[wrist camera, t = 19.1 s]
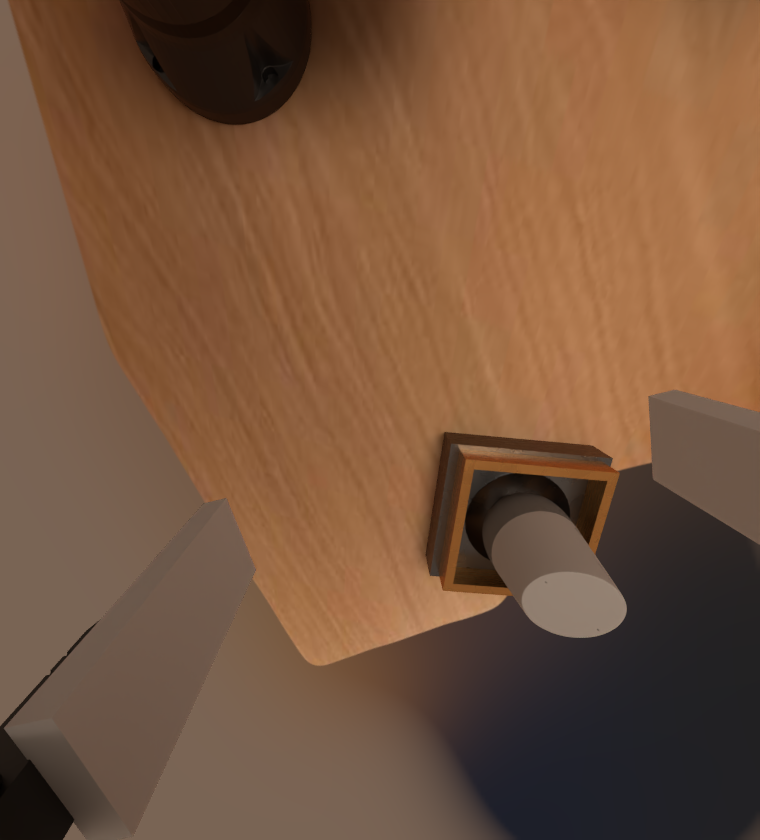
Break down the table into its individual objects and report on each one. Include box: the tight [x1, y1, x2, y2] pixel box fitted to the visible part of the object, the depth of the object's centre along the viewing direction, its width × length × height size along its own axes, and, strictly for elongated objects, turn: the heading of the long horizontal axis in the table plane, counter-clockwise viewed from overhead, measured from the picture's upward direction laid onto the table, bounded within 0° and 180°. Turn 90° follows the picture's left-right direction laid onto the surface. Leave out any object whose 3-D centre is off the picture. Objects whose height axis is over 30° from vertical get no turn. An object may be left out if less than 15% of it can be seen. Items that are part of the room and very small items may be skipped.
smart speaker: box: [482, 493, 627, 638], centre depth 36 cm, size 10×9×14 cm
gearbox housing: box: [426, 432, 619, 596], centre depth 44 cm, size 18×17×7 cm
